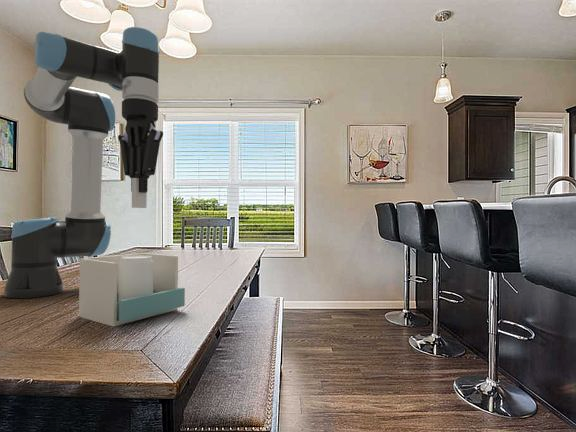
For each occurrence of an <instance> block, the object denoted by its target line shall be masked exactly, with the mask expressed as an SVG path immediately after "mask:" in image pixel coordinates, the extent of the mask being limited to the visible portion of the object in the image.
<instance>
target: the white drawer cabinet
mask: <svg viewBox="0 0 576 432" xmlns="http://www.w3.org/2000/svg"><path fill="white" fill-rule="evenodd" d="M133 255H147V256H152V260H153V262H154V269H153V290H157V291H167V290H172V289H177V288H178V287H179V286H178V285H179V284H178V283H179V255H170V254H168V255H167V254H161V253H160V254H159V253H148V252H139V253H127V254H117V255H108V256H107V255H106V256H97V257H96V256H94V257H93V256H92V257H87V258H85V257H84V258H79V283H78V285H79V286H78V287H79V290H78V292H79V294H78V295H79V296H78V297H79V298H78V300H79V301H78V317H79V318H82V319H85V320H89V321H93V322H97V323H100V324H103V325H106V326H110V327H118V326H121V325H124V324H129V323H132V322H136V321H140V320H143V319H147V318H151V317H155V316H159V315H162V314H166V313H170V312H174V311H177V310H178V308H175V309H171V310H167V311H163V312H159V313H156V314H152V315H148V316H144V317H140V318H136V319H133V320H129V321H125V322H120V321H119V319H117V293H118V284H119V261H120V260H121V257H123V256H133Z"/></svg>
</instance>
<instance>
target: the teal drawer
mask: <svg viewBox="0 0 576 432" xmlns="http://www.w3.org/2000/svg"><path fill="white" fill-rule="evenodd" d="M185 291H186V290H185V287H179V288H177V289H172V290H167V291H157V290H153V294H148V295H143V296H138V297H133V298H128V299H123V300H119V302H118V293H117V319H119V321H120V322H125V321H129V320H133V319H136V318H140V317H144V316H148V315H152V314H156V313H159V312H163V311H167V310H171V309H175V308H177V309H178V308H181V307H185V306H186V305H185V303H186V302H185V300H186V299H185V298H186V297H185V294H186V293H185Z"/></svg>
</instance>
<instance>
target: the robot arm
mask: <svg viewBox="0 0 576 432" xmlns="http://www.w3.org/2000/svg"><path fill="white" fill-rule="evenodd" d="M121 44H122V47H121V50H119V52H118V51H115V50H112V49H108V48H105V47H100V46H97V45H94V44H89V43H86V42H82V41H79V40H75V39H73V38H69V37H66V36H62V35H60V34H57V33H49V32H45V31H39V32H37V34H36V35H35V41H34V53H33V55H34V58H33V59H34V63H35V65H36V66H37V70H36V72H35V75H34V77H32V78H30V79H29V80H28V81H27V82H26V83H25V86H24V89H23V96H24V100H25V102H26V104H27V105H28V107H29V108H30V109H31V110H32V111H33V112H34V113H35V114H37V115H38V116H40V117H41V118H43V119H46V120H47V121H50V122H54V123H57V124H63V125H67V131H68V132H69V133H70V135H72V137H73V139H72V141H73V142H72V164H71V165H72V170H71V193H70V194H71V197H70V198H71V199H70V210H69V212H68V213H67V214H66V215H64V216H65V217H64V218H65V219H64V221H59V219H58V217H57V216H55V217H54V216H52V217H42V218H40V217H39V218H33V219H31V218H30V219H22V220H18V221H15V222H13V224H12V227H11V228H12V229H11V235H10V239H11V266H10V267H11V268H10V272H9V275H8V276H7V277H8V278H7V280H6V282H5V285H4V288H3V297H4V298H8V299H29V298H30V299H31V298H40V297H48V296H53V295H56V294H59V293H63V291H64V282H63V279H62V277H61V274H60V271H59V269H58V259H59V258H60V259H62V258H79V257H80V258H81V257H87V258H92V257H93V256H94V257H96V256H101V255H103V254H105V252H106V251H107V250H108V247H109V245H110V241H111V235H112V231H111V223H110V222H109V221H107V220H106V216H105V215H104V214H103V213H102V212H101V203H102V201H101V200H102V176H103V175H102V174H103V148H104V140H105V139H106V138H107V137H108V136H109V132H112V131H113V130H115V128H116V125H115V124H116V110H115V105H114V102H113V100H112V98H111V97H110V96H109V95H107V94H105V93H101V92H97V90H96V91H95V90H88V89H83V88H78V87H73V86H72V84H74V81H75V80H76V78H82V79H87V80H92V81H97V82H100V83H104V84H107V85H109V86H110V87H111V88H112V89H114V90H115V91H118V92H122V93H121V95H122V97H121V98H122V99H123V100H122V101H121V116H122V118H123V119H124V120H125V121H126V124H125V128H124V130H125V132H124V133H123V134H118V135H117V139H118V142H119V144H120V151H121V159H122V165H123V174H124V175H125V177H126V176H128V177H129V178H130V182H131V184H130V187H131V188H130V192H131V208H133V209H146V208H147V200H148V199H147V196H148V195H147V194H148V184H149V183H148V182H149V181H148V179H150V177H151V176H154V175H155V174H156V169H157V162H158V158H159V157H158V156H159V151H160V144H161V141H162V138H163V136H164V132H163V130H158V129H157V128H156V124H155V123H156V122H157V121H158V120H159V105H158V104H157V103H159V71H160V70H159V66H160V65H159V64H160V48H159V47H160V45H159V44H160V43H159V38H158V36H157V34H155V33H154V32H153V31H151V30H150V29H146V28H144V27H139V26H130V27H127V28H126V29H124V30H123V32H122V39H121Z"/></svg>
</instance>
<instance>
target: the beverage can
mask: <svg viewBox="0 0 576 432" xmlns="http://www.w3.org/2000/svg"><path fill="white" fill-rule="evenodd" d="M153 269H154V262H153V260H152V256H147V255H133V256H123V257H121V260H120V261H119V284H118V302H119V300H123V299H128V298H133V297H138V296H143V295H148V294H153Z"/></svg>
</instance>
